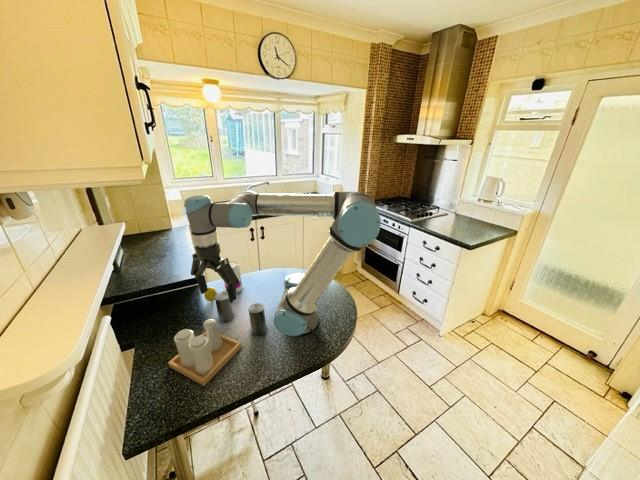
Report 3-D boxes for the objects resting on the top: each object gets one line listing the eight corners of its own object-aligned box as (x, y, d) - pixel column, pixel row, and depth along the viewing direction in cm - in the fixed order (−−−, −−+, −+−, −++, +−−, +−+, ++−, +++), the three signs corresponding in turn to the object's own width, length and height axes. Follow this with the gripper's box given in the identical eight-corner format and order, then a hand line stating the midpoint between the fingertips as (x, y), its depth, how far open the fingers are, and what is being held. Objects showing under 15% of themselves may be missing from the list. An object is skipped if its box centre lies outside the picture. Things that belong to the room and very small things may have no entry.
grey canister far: (236, 316, 115) (232, 294, 110) (226, 324, 110) (222, 302, 105) (226, 312, 117) (222, 290, 112) (216, 320, 112) (211, 298, 108)
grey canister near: (269, 328, 108) (266, 305, 103) (260, 338, 103) (257, 314, 98) (257, 324, 110) (255, 301, 105) (248, 333, 105) (245, 310, 100)
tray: (241, 347, 99) (240, 342, 98) (204, 387, 84) (202, 381, 83) (209, 333, 105) (208, 328, 104) (169, 367, 90) (167, 362, 89)
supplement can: (237, 295, 129) (233, 269, 123) (222, 293, 130) (218, 268, 124) (245, 286, 136) (241, 261, 130) (231, 284, 138) (226, 260, 131)
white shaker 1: (203, 357, 94) (196, 330, 88) (189, 370, 89) (181, 342, 83) (192, 352, 96) (184, 325, 91) (178, 364, 91) (169, 336, 86)
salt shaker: (215, 356, 94) (208, 329, 89) (203, 351, 96) (196, 324, 91) (226, 345, 99) (221, 319, 94) (215, 340, 101) (209, 314, 96)
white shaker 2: (218, 364, 91) (211, 337, 86) (204, 378, 86) (196, 350, 81) (205, 358, 93) (198, 331, 88) (191, 371, 88) (183, 343, 83)
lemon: (210, 306, 121) (207, 292, 118) (203, 302, 124) (200, 288, 120) (220, 300, 125) (217, 286, 122) (213, 296, 128) (210, 283, 125)
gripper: (244, 244, 82) (252, 298, 91) (188, 233, 92) (201, 283, 101) (228, 254, 76) (238, 311, 85) (170, 241, 86) (185, 294, 94)
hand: (218, 296), depth 93 cm, fingers open, 13 cm apart
